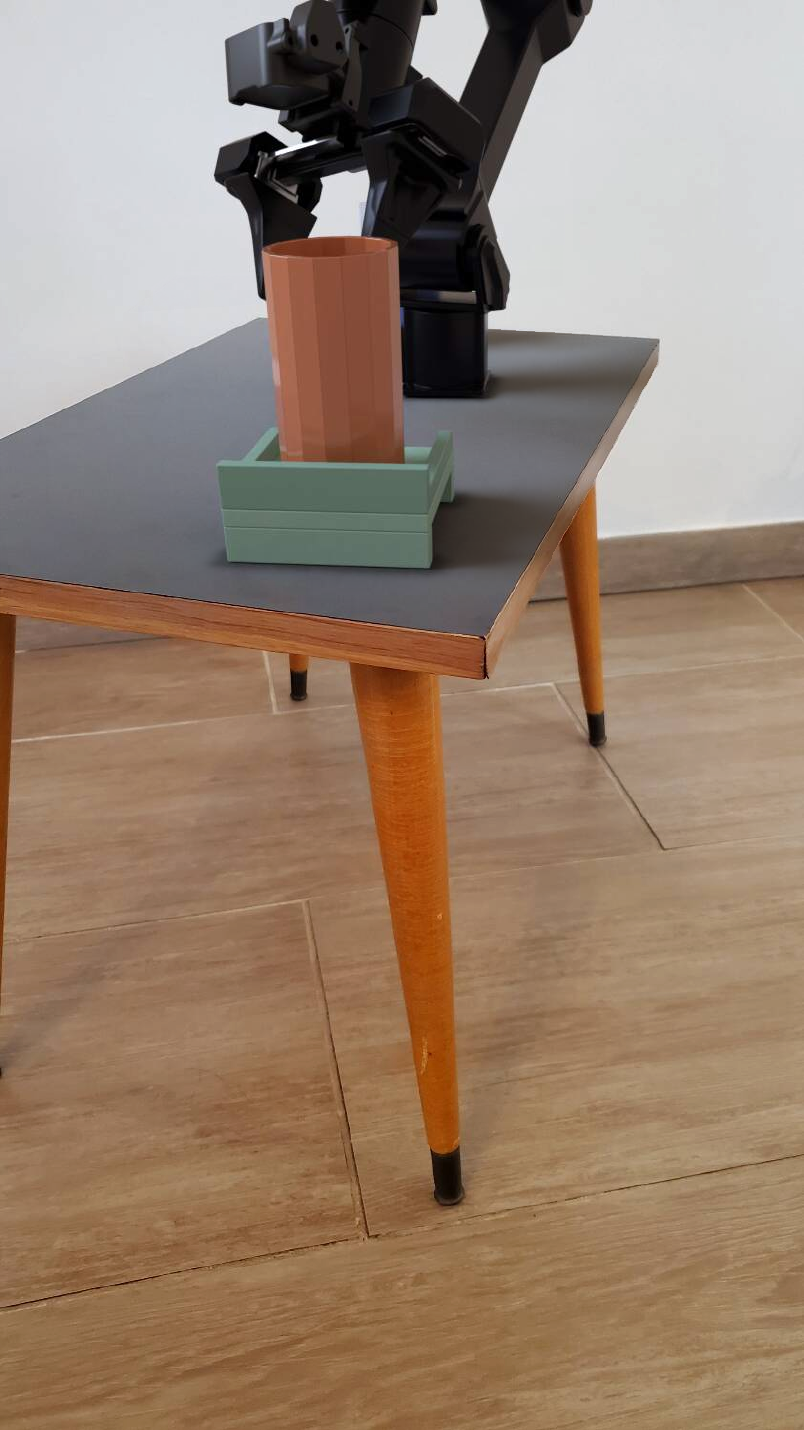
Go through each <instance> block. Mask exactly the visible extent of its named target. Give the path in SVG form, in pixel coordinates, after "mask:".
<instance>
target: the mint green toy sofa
mask: <svg viewBox="0 0 804 1430" xmlns="http://www.w3.org/2000/svg"><path fill="white" fill-rule="evenodd" d="M453 435H454V433H453V430H451V429H440V430H439V431H438V433H437V435H436V438H435V439H434V442H433V444H432V447H431V446H404V448H405V464H379V463H329V462H281V456H280V445H279V434H278V427H270V428H269V429H268V430H267V431H266V432H265V433H264V435H263V436H262V437H261V438H260V439H259V440H258V441H257V443H256V444H255V445H254V446H253V448H251V450H250V451H249V452H248V453H247V454H246V455H245V457H244V458H243V459H242V460H226V459H224V460H223V459H221V460H219V461H218V462H217V464H216V466H215V467H216V476H217V484H218V491H219V492H218V493H219V500H220V508H221V517H222V523H223V524H222V525H223V532H224V533H223V534H224V539H225V540H224V541H225V549H226V557H227V562H229V563H254V564H255V563H257V564H284V565H286V564H287V565H312V566H313V565H316V566H339V567H340V566H342V567H343V566H344V567H371V568H373V567H375V568H398V569H399V568H401V569H403V568H404V569H430V568H431V565H432V562H433V525H432V524H433V522H434V519H435V516H436V514H437V510H438V509H439V506H440V503H453V500H454V497H455V448H454V440H453V439H454V437H453Z"/></svg>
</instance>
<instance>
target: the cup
mask: <svg viewBox="0 0 804 1430" xmlns="http://www.w3.org/2000/svg"><path fill="white" fill-rule="evenodd" d="M262 260H263V271H264V282H265V293H266V301H265V302H266V303H265V304H266V313H267V322H268V324H267V325H268V334H269V345H270V355H271V356H270V357H271V365H272V366H271V367H272V379H273V389H274V391H273V392H274V401H275V410H276V411H275V412H276V421H277V428H278V434H279V445H280V456H281V462H329V463H379V464H405V448H404V447H405V422H404V420H405V419H404V417H405V416H404V395H403V383H402V355H401V324H400V293H399V262H398V242H396V241H393V240H390V239H387V238H378V237H369V236H361V235H333V236H331V235H330V236H315V237H314V236H313V237H308V238H303V239H294V240H289V241H283V242H278V243H274V244H271V245H268V246H266V247H264V249H263V250H262Z"/></svg>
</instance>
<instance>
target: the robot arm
mask: <svg viewBox="0 0 804 1430" xmlns="http://www.w3.org/2000/svg"><path fill="white" fill-rule="evenodd" d="M437 1H438V0H306V1H304V2H302V3H299V4H297V5H296V6H294V8H293V10H292V13H291V16H290V18H287V17H282V18H279V19H277V20H274V21H265V22H261V23H259V24H256V25H254V26H252V27H249V28H248V29H247V28H246V29H245V30H242V31H241V32H238V33H236V34H234V35H232V36H230V37H229V36H228V37H227V38H226V39H225V40H224V51H225V67H226V69H225V70H226V83H227V84H226V85H227V86H226V87H227V101H228V102H229V103H230V104H232V105H234V106H238V107H243V106H244V105H245V104H246V105H249V106H255V107H260V108H264V109H269V110H274V111H279V114H278V119H277V124H278V125H279V126H281V127H283V128H284V129H285V130H287V131H288V132H289V133H292V134H293V133H298V134H300V135H301V143H298V144H294V145H291V146H288V145H287V144H286V143H284V142H282V141H281V140H279V139H278V138H276V137H275V136H274V135H272V134H271V133H269V131H267V130H264V131H261V132H258V133H255V134H251V135H249V136H245V137H243V138H240V139H237V140H234V141H232V142H229V143H227V144H224V145H223V146H220V147H219V149H218V154H217V158H216V163H215V167H214V172H213V177H214V181H215V182H216V183H217V184H219V185H221V186H223V187H224V188H225V189H226V192H227V193H228V194H229V195H230V196H232V197H233V198H235V199H237V200H238V201H239V202H240V203H241V205H242V207H243V208H244V210H245V212H246V216H247V218H248V223H249V229H250V235H251V244H252V253H253V262H254V272H255V279H256V281H255V282H256V289H257V291H256V292H257V295H258V298H259V299H261V300H262V301H264V302H266V293H265V282H264V271H263V260H262V250H263V249H264V247H266V246H268V245H271V244H274V243H278V242H283V241H289V240H294V239H303V238H310V235H311V233H312V231H313V229H314V227H315V225H316V223H317V221H318V216H317V215H315V214H313V213H312V212H313V211H314V210H315V208H316V207H317V206H318V205H319V203H320V201H321V197H322V192H323V189H324V188H323V187H324V184H323V182H322V179H323V178H327V177H330V176H334V175H337V174H341V173H346V172H348V173H350V174H356V173H360V172H364V171H367V175H368V181H369V182H368V191H367V197H366V201H365V202H366V208H365V214H364V220H363V226H362V233H360V236H369V237H378V238H387V239H390V240H393V241H396V242H398V262H399V293H400V308H404V309H403V322H402V324H401V355H402V386H403V396H421V397H423V396H424V397H425V396H426V397H427V396H429V397H430V396H433V397H434V396H435V397H482V396H484V395H485V393H486V390H487V388H488V385H489V382H490V379H491V376H492V375H491V374H492V370H491V369H489V367H488V364H489V363H488V362H489V361H488V360H489V313H490V312H498V311H499V312H500V311H504V310H506V309H507V303H508V298H509V294H510V292H511V291H510V289H511V288H510V283H511V272H510V269H509V267H508V264H507V262H506V260H505V257H504V255H503V252H502V249H501V247H500V244H499V242H498V235H497V231H496V228H495V224H494V221H493V218H492V217H493V216H492V214H491V210H490V207H489V202H490V200H491V197H492V194H493V191H494V190H495V187H496V185H497V182H498V180H499V177H500V174H501V172H502V169H503V167H504V164H505V161H506V158H507V156H508V154H509V151H510V149H511V146H512V143H513V141H514V138H515V136H516V133H517V131H518V128H519V127H520V124H521V121H522V118H523V115H524V112H525V110H526V108H527V106H528V104H529V100H530V97H531V95H532V92H533V91H534V87H535V85H536V83H537V80H538V77H539V75H540V72H541V69H542V67H543V66H545V64H547V63H548V62H550V61H551V60H553V59H555V58H556V57H557V56H558V55H560V54H562V53H563V52H565V51H566V50H567V49H569V48H570V47H571V46H572V44H573V43H574V41H575V39H576V37H577V35H578V34H579V32H580V30H581V28H582V27H583V25H584V23H585V19H586V17H587V16H589V14H590V13H591V10H592V8H593V3H594V0H479V2H480V5H481V9H482V10H481V11H482V13H483V17H484V22H485V26H486V31H487V32H486V35H485V37H484V40H483V42H482V44H481V47H480V48H479V51H478V54H477V57H476V59H475V61H474V64H473V66H472V68H471V71H470V73H469V76H468V78H467V81H466V83H465V85H464V88H463V90H462V92H461V95H460V97H459V100H456V98H454V97H453V96H452V95H451V94H450V93H448V92H447V91H446V90H445V89H444V88H443V87H441V86H440V85H439V84H438V83H437V82H435V81H434V80H433V79H432V78H431V77H430V76H426V77H424V75H423V74H422V73H421V72H420V71H419V70H417V69H416V68H415V67H414V66H413V65H412V62H413V57H414V52H415V48H416V44H417V39H418V34H419V29H420V25H421V21H422V17H429V16H430V17H431V16H433V17H434V16H436V15H437V13H438V2H437Z"/></svg>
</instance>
